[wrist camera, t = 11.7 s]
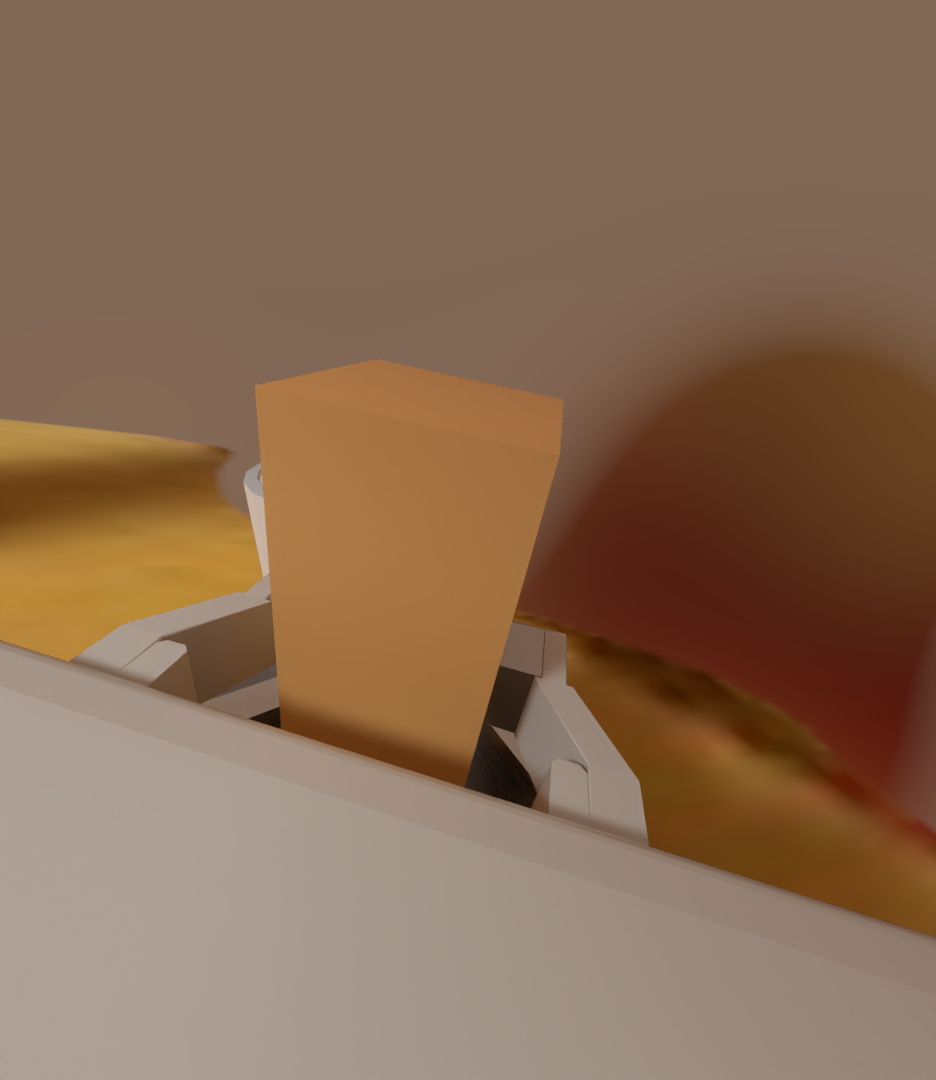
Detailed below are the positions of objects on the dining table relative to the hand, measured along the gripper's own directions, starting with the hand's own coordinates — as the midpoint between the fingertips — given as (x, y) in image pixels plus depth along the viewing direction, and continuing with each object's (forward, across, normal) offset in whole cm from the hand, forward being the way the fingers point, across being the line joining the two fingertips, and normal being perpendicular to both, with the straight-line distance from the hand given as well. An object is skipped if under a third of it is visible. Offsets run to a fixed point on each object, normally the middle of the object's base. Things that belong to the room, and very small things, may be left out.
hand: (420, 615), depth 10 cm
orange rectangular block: (-1, 0, +6) cm, 7 cm away
